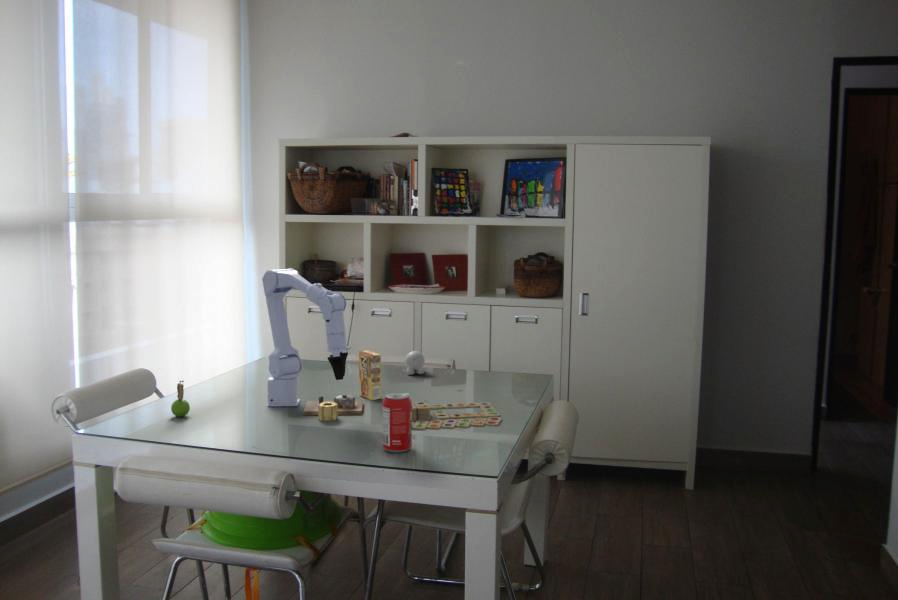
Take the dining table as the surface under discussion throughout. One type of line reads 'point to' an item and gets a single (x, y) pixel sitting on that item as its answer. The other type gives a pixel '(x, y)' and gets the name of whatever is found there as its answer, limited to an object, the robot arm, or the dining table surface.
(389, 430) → the soda can
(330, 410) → the brass gear
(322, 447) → the dining table surface
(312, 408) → the gear board
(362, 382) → the candy box
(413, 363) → the chubby cartoon animal
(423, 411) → the pile of dominoes
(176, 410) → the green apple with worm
